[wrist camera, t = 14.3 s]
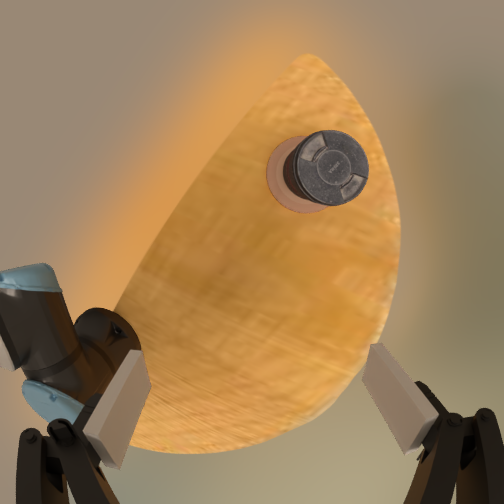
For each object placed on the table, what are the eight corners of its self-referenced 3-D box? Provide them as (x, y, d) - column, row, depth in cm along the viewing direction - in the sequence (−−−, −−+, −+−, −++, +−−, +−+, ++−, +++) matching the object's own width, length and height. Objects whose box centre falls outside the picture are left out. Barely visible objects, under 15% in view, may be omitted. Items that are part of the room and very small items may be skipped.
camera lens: (268, 178, 40) (278, 172, 25) (300, 137, 38) (325, 111, 24) (310, 211, 41) (342, 223, 26) (341, 170, 39) (384, 163, 25)
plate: (264, 210, 42) (265, 211, 41) (267, 133, 39) (268, 133, 38) (339, 215, 42) (341, 215, 41) (343, 141, 39) (344, 140, 38)
